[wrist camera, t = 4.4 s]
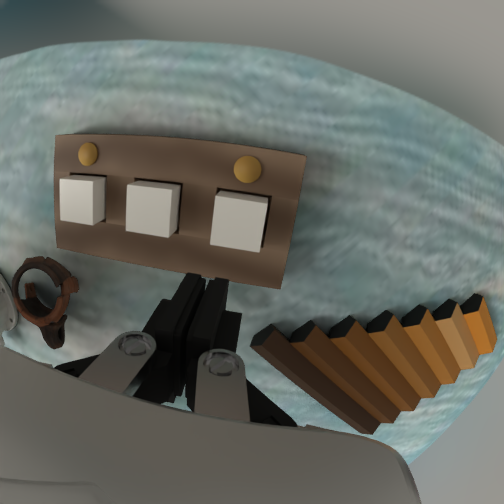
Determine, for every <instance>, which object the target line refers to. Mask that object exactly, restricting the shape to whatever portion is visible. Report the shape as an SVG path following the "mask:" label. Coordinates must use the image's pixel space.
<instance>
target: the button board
mask: <svg viewBox="0 0 504 504" xmlns="http://www.w3.org/2000/svg"><path fill="white" fill-rule="evenodd" d="M306 158H307V156H305V155H302V154H297V153H291V152H286V151H280V150H274V149H268V148H262V147H255V146H248V145H241V144H234V143H226V142H218V141H209V140H200V139H189V138H178V137H165V136H149V135H128V134H65V135H56V137H55V154H54V213H55V230H56V243H57V248H61V249H65V250H70V251H74V252H79V253H84V254H88V255H93V256H98V257H103V258H108V259H113V260H118V261H123V262H128V263H133V264H138V265H143V266H148V267H153V268H159V269H164V270H169V271H175V272H180V273H186V274H187V273H188V272H190V273H195V274H201V276H202V277H208V278H214V279H215V277H218V278H224V279H229V281H232V282H237V283H244V284H250V285H256V286H262V287H268V288H275V289H281V284H282V280H283V275H284V270H285V266H286V261H287V256H288V251H289V246H290V242H291V237H292V232H293V227H294V222H295V217H296V212H297V206H298V201H299V196H300V191H301V185H302V180H303V175H304V169H305V164H306ZM71 175H87V176H99V177H107V186H106V218H105V219H103V220H102V221H100V222H98V223H96V224H94V225H87V224H81V223H75V222H68V221H62V220H60V179H61V178H64V177H68V176H71ZM139 180H142V181H151V182H160V183H169V184H177V185H181V192H180V203H179V215H178V228H177V230H176V231H175V232H174V233H173V234H172V235H171V236H170V237H169V238H167V237H160V236H154V235H148V234H142V233H136V232H130V231H126V199H127V185H128V184H131V183H133V182H136V181H139ZM221 190H222V191H229V192H236V193H242V194H249V195H255V196H261V197H267V198H268V205H267V211H266V217H265V222H264V228H263V234H262V240H261V246H260V252H259V253H258V252H252V251H246V250H240V249H234V248H228V247H222V246H216V245H210V239H211V230H212V221H213V213H214V204H215V196H216V195H217V194H218V193H219V192H220V191H221Z"/></svg>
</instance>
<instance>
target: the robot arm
mask: <svg viewBox="0 0 504 504" xmlns="http://www.w3.org/2000/svg"><path fill="white" fill-rule="evenodd" d="M205 284H206V279H204V278H201V274H195V273H190V272H188V273H187V274H186V276H185V277H184V279H183V281H182V282H181V284H180V286H179V288H178V289H177V291H176V293H175V294H174V296H173V298H172V299H171V300H167V299H162V300H161V301H160V303H159V305H158V306H157V308H156V309H155V311H154V313H153V314H152V316H151V317H150V319H149V321H148V322H147V324H146V325H145V327H144V329H143V330H142V332H140V331H130V332H125V333H123V334H121V335H119V336H118V337H117V338H116V339H115V340H114V341H113V342H112V343H111V344H110V345H109V346H108V347H107V348H106V349H105V350H104V351H103V352H102V353H101V354H99V355H95V356H91V357H88V358H84V359H80V360H76V361H72V362H68V363H64V364H61V365H58V366H56V367H55V368H53V366H52V364H46V363H42V362H38V361H36V360H33V359H31V358H29V357H27V356H25V355H22V354H20V353H18V352H16V351H13V350H11V349H9V348H7V347H4V345H5V342H4V340H3V337H2V332H3V331H9V330H12V329H13V328H14V327H15V326H16V324H17V321H18V312H17V308H16V305H15V303H14V300H13V296H12V292H11V290H10V288H9V286H8V284H7V282H6V281H5V279H4V278H3V276H2V275H1V274H0V504H421V500H420V497H419V493H418V490H417V487H416V484H415V481H414V478H413V476H412V474H411V471H410V469H409V467H408V465H407V463H406V461H405V460H404V459H403V457H402V456H401V455H400V454H399V453H398V452H397V451H396V450H395V449H393V448H392V447H390V446H388V445H386V444H384V443H382V442H379V441H377V440H373V439H370V438H367V437H364V436H360V435H355V434H350V433H345V432H339V431H334V430H329V429H325V428H320V427H316V426H312V425H308V424H306V426H305V427H303V426H299V425H297V424H296V422H295V421H294V420H293V419H292V418H291V417H290V416H289V415H288V414H286V413H285V412H284V411H283V410H282V409H280V408H279V407H278V406H277V405H276V404H274V403H273V402H272V401H271V400H270V399H269V398H268V397H266V396H265V395H264V394H263V393H262V392H261V391H260V390H258V389H257V388H256V387H255V386H254V385H253V384H252V383H251V382H249V381H248V380H247V379H246V375H245V365H244V362H243V360H242V359H241V357H240V356H239V355H237V354H236V348H237V342H238V336H239V330H240V324H241V317H242V313H237V312H232V311H226V310H225V309H226V301H227V293H228V285H229V279H224V278H218V277H215V280H209V283H208V285H207V287H206V290H205ZM184 386H185V397H186V398H187V406H188V407H189V408H190V409H191V411H192V412H191V411H186V410H182V409H178V408H173V407H169V406H165V405H161V403H164V402H170V403H174V401H175V398H176V396H181V395H182V392H183V389H184Z"/></svg>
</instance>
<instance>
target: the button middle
mask: <svg viewBox="0 0 504 504" xmlns="http://www.w3.org/2000/svg"><path fill="white" fill-rule="evenodd" d="M180 192H181V185H177V184H169V183H160V182H151V181H142V180H139V181H136V182H133V183H131V184H128V185H127V199H126V231H130V232H136V233H142V234H148V235H154V236H160V237H167V238H169V237H170V236H171V235H172V234H173V233H174V232H175V231H176V230H177V228H178V215H179V203H180Z"/></svg>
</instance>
